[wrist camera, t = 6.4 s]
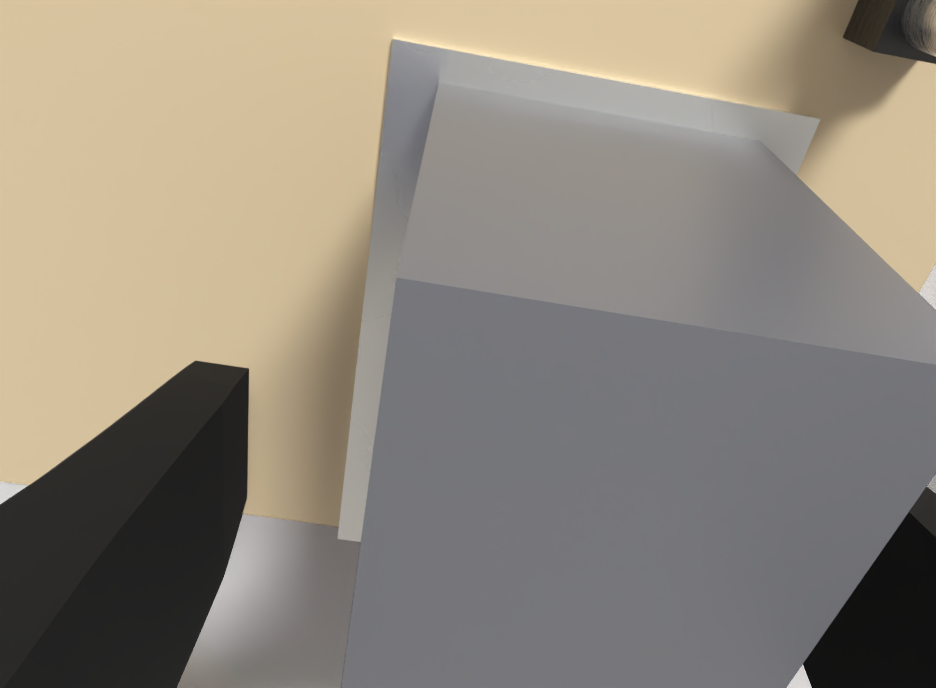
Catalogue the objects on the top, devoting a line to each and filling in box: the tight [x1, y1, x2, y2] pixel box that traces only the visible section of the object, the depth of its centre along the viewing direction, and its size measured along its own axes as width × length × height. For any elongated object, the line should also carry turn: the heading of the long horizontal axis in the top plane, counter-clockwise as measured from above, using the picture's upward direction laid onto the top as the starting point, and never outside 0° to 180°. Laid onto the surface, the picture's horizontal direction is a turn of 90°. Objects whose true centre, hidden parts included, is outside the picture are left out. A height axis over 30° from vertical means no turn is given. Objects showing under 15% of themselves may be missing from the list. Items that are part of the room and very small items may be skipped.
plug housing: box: [341, 82, 936, 688], centre depth 9 cm, size 7×4×5 cm, turn 170°
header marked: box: [337, 38, 820, 542], centre depth 10 cm, size 8×5×3 cm, turn 170°
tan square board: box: [0, 0, 936, 527], centre depth 10 cm, size 12×14×1 cm
